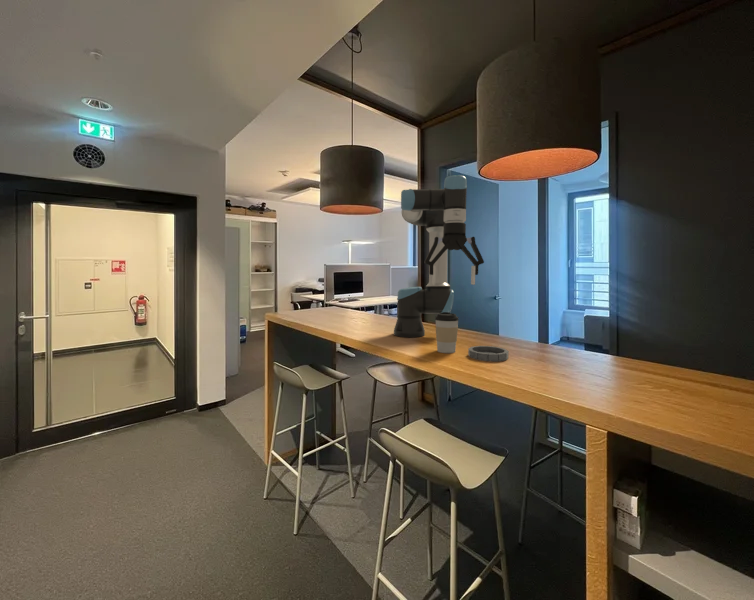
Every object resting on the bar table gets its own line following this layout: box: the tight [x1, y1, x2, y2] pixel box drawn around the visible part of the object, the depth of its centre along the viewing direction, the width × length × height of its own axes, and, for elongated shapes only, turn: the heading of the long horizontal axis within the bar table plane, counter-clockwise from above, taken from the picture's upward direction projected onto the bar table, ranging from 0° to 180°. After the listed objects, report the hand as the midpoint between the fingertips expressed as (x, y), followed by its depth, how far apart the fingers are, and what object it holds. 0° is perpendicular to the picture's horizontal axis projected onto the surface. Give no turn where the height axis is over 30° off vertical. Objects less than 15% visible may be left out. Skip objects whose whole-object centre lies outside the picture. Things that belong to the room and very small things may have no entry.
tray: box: [467, 345, 509, 362], centre depth 128 cm, size 14×14×2 cm
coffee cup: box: [435, 312, 459, 354], centre depth 136 cm, size 9×9×15 cm
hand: (453, 284), depth 122 cm, fingers open, 13 cm apart
